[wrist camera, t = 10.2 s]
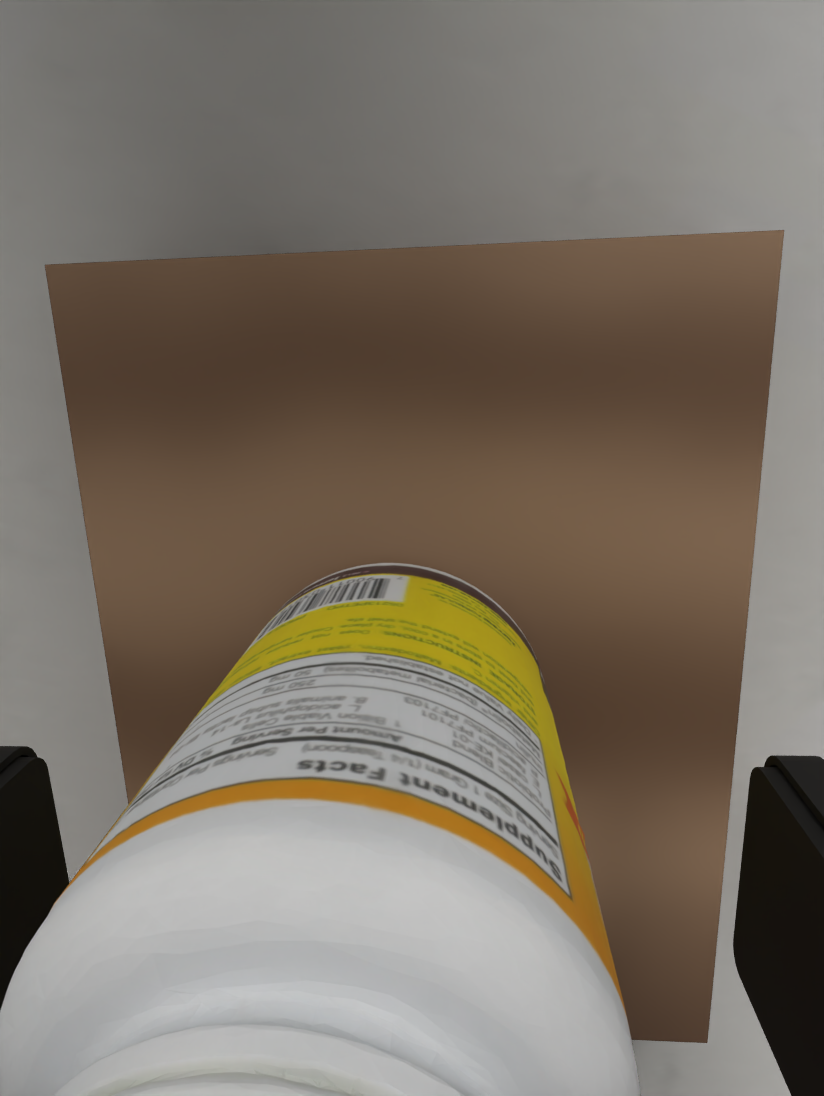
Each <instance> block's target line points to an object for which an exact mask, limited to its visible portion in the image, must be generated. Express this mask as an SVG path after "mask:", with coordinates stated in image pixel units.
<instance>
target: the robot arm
mask: <svg viewBox="0 0 824 1096" xmlns="http://www.w3.org/2000/svg"><path fill="white" fill-rule="evenodd" d="M68 885H69V879H68V873H67V868H66V863H65V857H64V852H63V847H62V841H61V836H60V831H59V825H58V820H57V815H56V809H55V804H54V799H53V793H52V788H51V783H50V777H49V772H48V768H47V764H46V762H45V761H44V760H43V759H41V758H38V757H37V755H36V753H35V752H34V751H33V749H31V748H29V747H24V746H0V1010H1V1007H2V1004H3V1001H4V998H5V995H6V992H7V989H8V986H9V983H10V981H11V978H12V976H13V974H14V971H15V969H16V967H17V965H18V964H19V962H20V960H21V958H22V956H23V953H24V951H25V949H26V948H27V946H28V945H29V943H30V941H31V940H32V938H33V937H34V935H35V934H36V932H37V931H38V929H39V928H40V926H41V925H42V923H43V922H44V920H45V919H46V917H47V916H48V914H49V912H50V910H51V908H52V906H53V905H54V903H55V901H56V900H57V899H58V898H59V896H60V895H61V894H62V893H63V891H64V890H65V889H66V887H67V886H68ZM733 949H734V957H735V963H736V967H737V971H738V973H739V976H740V979H741V981H742V983H743V985H744V988H745V990H746V992H747V995H748V997H749V999H750V1002H751V1004H752V1006H753V1008H754V1011H755V1013H756V1015H757V1018H758V1020H759V1022H760V1024H761V1027H762V1029H763V1031H764V1034H765V1036H766V1038H767V1040H768V1043H769V1045H770V1047H771V1050H772V1052H773V1054H774V1057H775V1059H776V1061H777V1063H778V1066H779V1068H780V1070H781V1073H782V1075H783V1077H784V1079H785V1082H786V1084H787V1086H788V1089H789V1091H790V1093H791V1096H824V760H823V759H822V758H821V757H818V756H770V757H768V758H767V760H766V762H765V765H764V767H755V768H754V769H753V770H752V772H751V776H750V783H749V793H748V803H747V812H746V822H745V832H744V842H743V851H742V861H741V871H740V881H739V890H738V900H737V910H736V919H735V929H734V939H733Z"/></svg>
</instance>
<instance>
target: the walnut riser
mask: <svg viewBox="0 0 824 1096" xmlns="http://www.w3.org/2000/svg"><path fill="white" fill-rule="evenodd" d="M783 237H784V230H775V231H754V232H733V233H711V234H690V235H669V236H647V237H626V238H605V239H583V240H562V241H541V242H520V243H498V244H477V245H456V246H434V247H413V248H392V249H370V250H349V251H328V252H307V253H285V254H264V255H243V256H221V257H200V258H179V259H157V260H136V261H115V262H93V263H72V264H51V265H45V270H46V276H47V282H48V289H49V295H50V302H51V308H52V315H53V321H54V328H55V334H56V340H57V347H58V353H59V360H60V366H61V373H62V379H63V385H64V392H65V398H66V405H67V411H68V418H69V424H70V431H71V437H72V443H73V450H74V456H75V463H76V469H77V476H78V482H79V489H80V495H81V501H82V508H83V514H84V521H85V527H86V534H87V540H88V546H89V553H90V559H91V566H92V572H93V579H94V585H95V592H96V598H97V604H98V611H99V617H100V624H101V630H102V637H103V643H104V650H105V656H106V662H107V669H108V675H109V682H110V688H111V695H112V701H113V707H114V714H115V720H116V727H117V733H118V740H119V746H120V753H121V759H122V765H123V772H124V778H125V785H126V791H127V798H128V804H130V802H131V801H132V800H133V798H134V797H135V795H136V794H137V793H138V791H139V790H140V789H141V787H142V786H143V785H144V783H145V782H146V780H147V779H148V778H149V776H150V775H151V774H152V772H153V771H154V770H155V769H156V767H157V766H158V765H159V763H160V762H161V761H162V759H163V758H164V757H165V755H166V754H167V753H168V752H169V750H170V749H171V748H172V746H173V745H174V744H175V743H176V741H177V740H178V739H179V738H180V736H181V735H182V734H183V733H184V731H185V730H186V728H187V727H188V726H189V724H190V723H191V722H192V720H193V719H194V718H195V716H196V715H197V714H198V713H199V711H200V710H201V709H202V707H203V706H204V705H205V703H206V702H207V700H208V699H209V698H210V696H211V695H212V694H213V693H214V692H215V690H216V689H217V688H218V687H219V685H220V684H221V683H222V681H223V680H224V679H225V678H226V676H227V675H228V674H229V672H230V671H231V670H232V668H233V667H234V666H235V664H236V663H237V662H238V661H239V659H240V658H241V657H242V655H243V654H244V653H245V651H246V650H247V649H248V647H249V646H250V645H251V644H252V642H253V641H254V640H255V638H256V637H257V636H258V635H259V633H260V632H261V630H262V629H263V628H264V627H265V625H266V624H267V623H268V622H269V621H270V620H271V618H272V617H273V616H274V615H275V614H276V613H277V612H278V610H279V609H280V608H281V607H282V606H283V605H284V604H285V603H286V602H287V601H288V600H290V599H291V598H292V597H294V596H295V595H296V594H298V593H299V592H300V591H302V590H303V589H304V588H306V587H307V586H309V585H310V584H312V583H314V582H315V581H317V580H320V579H322V578H324V577H326V576H328V575H331V574H333V573H336V572H338V571H341V570H344V569H348V568H352V567H356V566H361V565H367V564H377V563H403V564H412V565H418V566H423V567H428V568H432V569H435V570H439V571H442V572H445V573H448V574H450V575H453V576H455V577H457V578H460V579H462V580H463V581H465V582H467V583H469V584H471V585H473V586H475V587H476V588H478V589H479V590H480V591H482V592H483V593H485V594H486V595H488V596H489V597H490V598H491V599H493V600H494V601H495V602H496V603H497V604H498V605H500V606H501V607H502V608H503V609H504V610H505V611H506V612H507V613H508V614H509V616H510V617H511V618H512V619H513V620H514V622H515V623H516V624H517V626H518V627H519V628H520V629H521V631H522V632H523V634H524V635H525V637H526V639H527V640H528V642H529V644H530V645H531V647H532V649H533V652H534V654H535V656H536V658H537V661H538V663H539V666H540V668H541V671H542V674H543V677H544V682H545V686H546V689H547V692H548V697H549V701H550V705H551V708H552V712H553V716H554V722H555V726H556V730H557V734H558V738H559V743H560V747H561V750H562V754H563V757H564V761H565V767H566V771H567V775H568V779H569V784H570V788H571V791H572V795H573V799H574V802H575V807H576V812H577V816H578V821H579V825H580V827H581V829H582V831H583V833H584V835H585V846H586V851H587V854H588V857H589V861H590V865H591V870H592V875H593V880H594V884H595V888H596V892H597V896H598V900H599V904H600V909H601V913H602V917H603V921H604V925H605V930H606V934H607V938H608V942H609V946H610V950H611V954H612V958H613V962H614V966H615V970H616V974H617V978H618V982H619V986H620V990H621V994H622V998H623V1002H624V1006H625V1010H626V1015H627V1020H628V1025H629V1030H630V1035H631V1040H652V1041H674V1042H697V1043H707V1041H708V1030H709V1019H710V1009H711V998H712V988H713V977H714V967H715V956H716V945H717V935H718V924H719V914H720V903H721V893H722V882H723V871H724V861H725V850H726V840H727V829H728V819H729V808H730V797H731V787H732V776H733V766H734V755H735V745H736V734H737V723H738V713H739V702H740V692H741V681H742V671H743V660H744V649H745V639H746V628H747V618H748V607H749V597H750V586H751V575H752V565H753V554H754V544H755V533H756V523H757V512H758V501H759V491H760V480H761V470H762V459H763V449H764V438H765V427H766V417H767V406H768V396H769V385H770V375H771V364H772V353H773V343H774V332H775V322H776V311H777V300H778V290H779V279H780V269H781V258H782V248H783Z"/></svg>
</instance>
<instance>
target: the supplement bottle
mask: <svg viewBox="0 0 824 1096" xmlns="http://www.w3.org/2000/svg"><path fill="white" fill-rule="evenodd" d="M0 1096H641V1094H640V1084H639V1078H638V1072H637V1065H636V1060H635V1055H634V1050H633V1045H632V1040H631V1035H630V1030H629V1025H628V1020H627V1015H626V1010H625V1006H624V1002H623V998H622V994H621V990H620V986H619V982H618V978H617V974H616V970H615V966H614V962H613V958H612V954H611V950H610V946H609V942H608V938H607V934H606V930H605V925H604V921H603V917H602V913H601V909H600V904H599V900H598V896H597V892H596V888H595V884H594V880H593V875H592V870H591V865H590V861H589V857H588V854H587V851H586V846H585V835H584V833H583V831H582V829H581V827H580V825H579V821H578V816H577V812H576V807H575V802H574V799H573V795H572V791H571V788H570V784H569V779H568V775H567V771H566V767H565V761H564V757H563V754H562V750H561V747H560V743H559V738H558V734H557V730H556V726H555V722H554V716H553V712H552V708H551V705H550V701H549V697H548V692H547V689H546V686H545V682H544V677H543V674H542V671H541V668H540V666H539V663H538V661H537V658H536V656H535V654H534V652H533V649H532V647H531V645H530V644H529V642H528V640H527V639H526V637H525V635H524V634H523V632H522V631H521V629H520V628H519V627H518V626H517V624H516V623H515V622H514V620H513V619H512V618H511V617H510V616H509V614H508V613H507V612H506V611H505V610H504V609H503V608H502V607H501V606H500V605H498V604H497V603H496V602H495V601H494V600H493V599H491V598H490V597H489V596H488V595H486V594H485V593H483V592H482V591H480V590H479V589H478V588H476V587H475V586H473V585H471V584H469V583H467V582H465V581H463V580H462V579H460V578H457V577H455V576H453V575H450V574H448V573H445V572H442V571H439V570H435V569H432V568H428V567H423V566H418V565H412V564H403V563H377V564H367V565H361V566H356V567H352V568H348V569H344V570H341V571H338V572H336V573H333V574H331V575H328V576H326V577H324V578H322V579H320V580H317V581H315V582H314V583H312V584H310V585H309V586H307V587H306V588H304V589H303V590H302V591H300V592H299V593H298V594H296V595H295V596H294V597H292V598H291V599H290V600H288V601H287V602H286V603H285V604H284V605H283V606H282V607H281V608H280V609H279V610H278V612H277V613H276V614H275V615H274V616H273V617H272V618H271V620H270V621H269V622H268V623H267V624H266V625H265V627H264V628H263V629H262V630H261V632H260V633H259V635H258V636H257V637H256V638H255V640H254V641H253V642H252V644H251V645H250V646H249V647H248V649H247V650H246V651H245V653H244V654H243V655H242V657H241V658H240V659H239V661H238V662H237V663H236V664H235V666H234V667H233V668H232V670H231V671H230V672H229V674H228V675H227V676H226V678H225V679H224V680H223V681H222V683H221V684H220V685H219V687H218V688H217V689H216V690H215V692H214V693H213V694H212V695H211V696H210V698H209V699H208V700H207V702H206V703H205V705H204V706H203V707H202V709H201V710H200V711H199V713H198V714H197V715H196V716H195V718H194V719H193V720H192V722H191V723H190V724H189V726H188V727H187V728H186V730H185V731H184V733H183V734H182V735H181V736H180V738H179V739H178V740H177V741H176V743H175V744H174V745H173V746H172V748H171V749H170V750H169V752H168V753H167V754H166V755H165V757H164V758H163V759H162V761H161V762H160V763H159V765H158V766H157V767H156V769H155V770H154V771H153V772H152V774H151V775H150V776H149V778H148V779H147V780H146V782H145V783H144V785H143V786H142V787H141V789H140V790H139V791H138V793H137V794H136V795H135V797H134V798H133V800H132V801H131V802H130V804H129V805H128V806H127V808H126V809H125V810H124V812H123V813H122V814H121V816H120V817H119V818H118V820H117V821H116V822H115V824H114V825H113V826H112V828H111V829H110V830H109V832H108V833H107V834H106V836H105V837H104V838H103V840H102V841H101V842H100V844H99V845H98V846H97V848H96V849H95V850H94V852H93V853H92V854H91V856H90V857H89V858H88V860H87V861H86V862H85V864H84V865H83V866H82V867H81V869H80V870H79V871H78V873H77V874H76V875H75V877H74V878H73V879H72V881H71V882H70V883H69V885H68V886H67V887H66V889H65V890H64V891H63V893H62V894H61V895H60V896H59V898H58V899H57V900H56V901H55V903H54V905H53V906H52V908H51V910H50V912H49V914H48V916H47V917H46V919H45V920H44V922H43V923H42V925H41V926H40V928H39V929H38V931H37V932H36V934H35V935H34V937H33V938H32V940H31V941H30V943H29V945H28V946H27V948H26V949H25V951H24V953H23V956H22V958H21V960H20V962H19V964H18V965H17V967H16V969H15V971H14V974H13V976H12V978H11V981H10V983H9V986H8V989H7V992H6V995H5V998H4V1001H3V1004H2V1007H1V1010H0Z"/></svg>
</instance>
